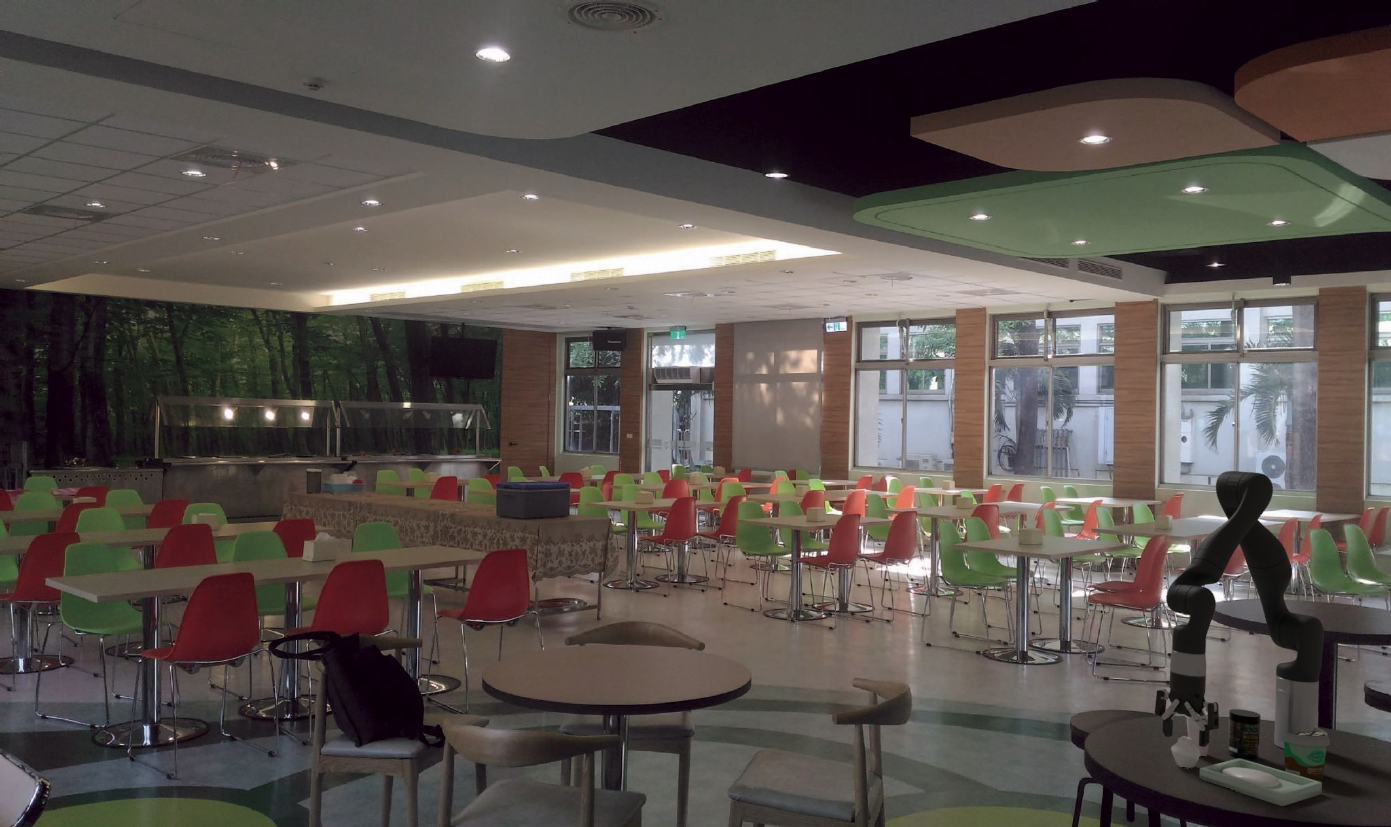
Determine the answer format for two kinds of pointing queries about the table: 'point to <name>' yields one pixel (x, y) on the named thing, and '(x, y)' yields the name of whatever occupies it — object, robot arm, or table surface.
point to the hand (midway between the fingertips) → (1185, 741)
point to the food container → (1306, 753)
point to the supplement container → (1244, 734)
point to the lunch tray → (1261, 781)
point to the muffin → (1185, 752)
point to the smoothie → (1196, 733)
